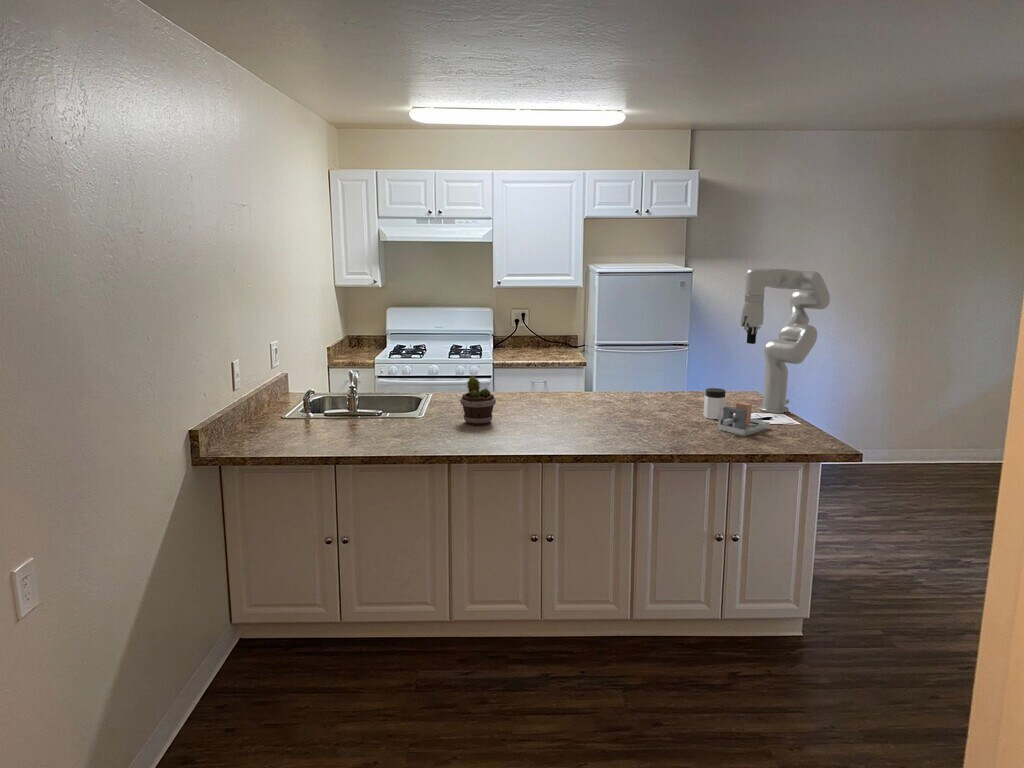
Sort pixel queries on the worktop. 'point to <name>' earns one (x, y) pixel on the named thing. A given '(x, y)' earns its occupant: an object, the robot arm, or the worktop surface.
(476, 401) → the flowerpot
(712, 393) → the jar
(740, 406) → the plunger
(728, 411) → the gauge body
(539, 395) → the worktop surface
